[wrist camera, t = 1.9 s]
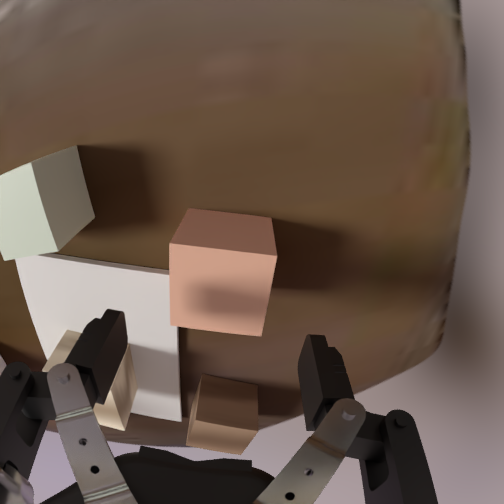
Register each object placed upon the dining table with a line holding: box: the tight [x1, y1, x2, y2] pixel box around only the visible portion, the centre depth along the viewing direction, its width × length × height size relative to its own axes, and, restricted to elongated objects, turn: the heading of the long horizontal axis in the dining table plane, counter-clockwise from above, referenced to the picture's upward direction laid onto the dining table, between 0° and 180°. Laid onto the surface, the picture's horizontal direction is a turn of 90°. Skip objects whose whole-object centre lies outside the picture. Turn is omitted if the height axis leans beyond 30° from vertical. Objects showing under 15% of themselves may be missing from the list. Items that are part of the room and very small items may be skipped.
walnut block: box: [186, 374, 258, 455], centre depth 24 cm, size 5×5×5 cm
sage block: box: [0, 145, 95, 261], centre depth 16 cm, size 5×5×5 cm
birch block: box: [42, 330, 138, 431], centre depth 22 cm, size 6×6×5 cm
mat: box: [15, 253, 182, 422], centre depth 24 cm, size 18×14×1 cm
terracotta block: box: [169, 208, 277, 336], centre depth 18 cm, size 5×5×5 cm
